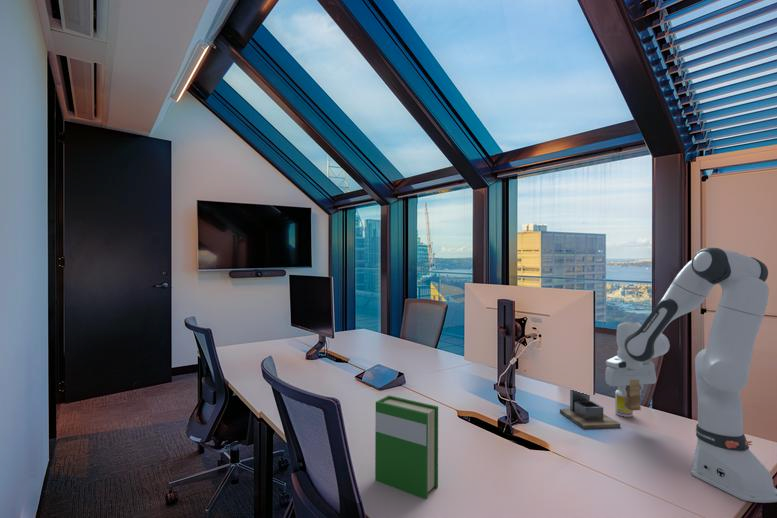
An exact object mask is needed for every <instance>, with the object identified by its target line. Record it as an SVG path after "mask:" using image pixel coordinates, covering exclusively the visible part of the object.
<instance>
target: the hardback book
mask: <svg viewBox="0 0 777 518" xmlns="http://www.w3.org/2000/svg"><path fill="white" fill-rule="evenodd" d="M374 426H375V427H374V428H375V437H374V438H375V440H374V441H375V443H374V445H375V447H374V449H375V450H374V451H375V452H374V454H375V455H374V457H375V458H374V459H375V460H374V461H375V462H374V464H375V467H374V469H375V470H374V475H375V476H374V478H375V479H374V480H375V482H378V483H381V484H383V485H386V486H389V487H391V488H395V489H397V490H400V491H402V492H405V493H408V494H411V495H413V496H415V497H419V498H422V499H424V500H428V496H429V495H428V494H429V492H431V490H432V489H439V406H437V405H435V404H429V403H424V402H422V401H421V402H419V401H415V400H411V399H406V398H403V397H402V398H401V397H399V396H398V397H397V396H393V395H387V396H385V397H383V398H381V399H378V400H377V401H375V425H374Z"/></svg>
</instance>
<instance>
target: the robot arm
mask: <svg viewBox="0 0 777 518" xmlns="http://www.w3.org/2000/svg"><path fill="white" fill-rule="evenodd" d="M768 277H769V270H768V266H767V265H766V264H765V263H764V262H763V261H760V260H759V259H757V258H755V257H753V256H747V255H745V254H742V253H739V252H737V251H734V250H733V251H732V250H727V249H721V248H719V247H705V248H701V249H700V250H698V251H696V253H695V254H694V255H693V257H692V259H691V260H689V261H687V263H686V264H685V265H684V266H683V268H682V269H681V270H680V271H679V272H678V273H677V274H676V276H675V277H674V279H673V280H672V282H671V284H670V285H669V287H668V288H667V290H666V292H665V293H664V294H663V296H662V298H661V299H660V300H659V302H658V303H657V305H656V306H655V307H654V308H653V309H652V311H651V313H649V315H648V317H646V319H645V321H644V322H643V323H642V324H641V322H639V321H635V320H633V321H632V320H631V321H630V320H629V321H625V322H620V323H618V325H617V327H616V345H617V352H616V353H617V354H616V355H615V356H613V357H611V358H609V359H606V360H605V365H606V368H605V371H604V372H605V374H604V375H605V376H604V377H605V383H606V384H607V385H608V386H610V387H618V386H619V387H620V389H621V390H622V394H623V396H625V397H627V396H629V395H628V394H629V392H627V391H626V390H625V388H626V386H628V385H630V380H639V387H640V397H641V396H642V391H643V389H644V385H652V384H653V385H655V384H656V383H657V374H656V369H655V363H654V362H653V361H651V359H654V358H658V357H661V356H664V355H665V354H667V353H668V352H669V350H670V349H671V344H670V343H671V342H670V340H669V338H668V337H667V336H666V335H665V334H664V333H663V332H664V330H665V329H666V328H667V327H668V325H669V324H670V323H671V322H673V321H674V320H676V319H677V318H679V317H682V316H684V315H686V314H689V313H691V312H693V311H695V310H696V309H697V308H698V307H700V305H701V304H703V302H704V301H705V299H706V298H707V297H708V295H709V294H710V292H711V291H712V289H713V288H714V287H715V286H717V285H719V286H720V288H721V290H722V292H721V296H720V299H719V301H718V304H717V306H716V310H715V313H714V316H713V319H712V321H711V324H710V327H709V334H708V338H707V339H708V340H707V344H706V348H703V349H701V350H700V351H699V352H698V353H696V356H695V359H694V366H695V367H694V370H695V371H694V372H695V383H696V384H695V386H696V394H697V396H696V397H697V424H696V425H695V427H696V428H695V436H696V437H697V440H696V441H697V442H696V445H695V446H696V447H695V449H694V450H695V451H694V458H693V461H692V464H691V471H690V473H691V475H692V476H693V477H695V478H696V479H697V478H698V479H699V480H701V481H703V482H706V483H708V484H710V485H711V486H713V487H716V488H718V489H719V490H722V491H724V492H726V493H728V494H729V495H731V496H733V497H735V498H737V499H740V500H742V501H746V502H751V503H759V504H761V503H763V504H766V503H770V504H771V503H777V488H776V487H775V486H774V481H773V476H772V474H771V471H770V470H769V469H767V468H766V466H765V465H764V464H763V463H762V462H761V461H760V460H759V459H758V457H756V455H754V453H753V452H752V451H751V450H750V446H752V445H753V444H752V443H753V441H752V440H747V438H746V436H745V434H744V428H743V427H744V416H743V414H744V411H743V409H744V408H743V404H742V399H741V398H742V397H741V392H740V391H741V390H744V388H745V387H746V386H747V384H748V382H749V374H750V373H749V372H750V368H751V365H752V364H751V363H752V360H753V353H754V348H755V347H754V346H755V341H756V338H757V335H758V333H759V330H760V328H761V324H762V322H763V319H764V317H765V313H766V309H767V305H768V301H769V300H768V299H769V290H770V288H769V286H768V284H767V283H766V280H767V279H768Z"/></svg>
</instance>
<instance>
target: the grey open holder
mask: <svg viewBox="0 0 777 518" xmlns="http://www.w3.org/2000/svg"><path fill="white" fill-rule="evenodd" d="M590 397H591V394H590V395H587V394H584V393H580V392H577V391H574V390H570V389H569V407H570V408H569V409H570V410H571V411H572V412H575V414H577V415H578V416H580V417H581V418H583V419H584V420H601V419H603V414H604V407H603V406H601V405H600V404H599V403H597V402H594V401H593V400H591V399H590Z"/></svg>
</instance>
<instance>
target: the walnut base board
mask: <svg viewBox="0 0 777 518" xmlns="http://www.w3.org/2000/svg"><path fill="white" fill-rule="evenodd" d="M559 413H560V414H561V415H563V416H564V417H566V418H567V419H569V420H570V421H571V422H573V423H574V424H576V425H577V426H578V427H580V428H581V429H583V430H587V429H588V430H590V429H591V430H592V429H594V428H596V429H613V428H615V429H617V428H618V427H620V428H621V423H620V422H618V421H617V420H615V419H614V418H611V417H610V416H608V415H606V414H605V413H603V419H601V420H584V419H583V418H581V417H580V416H578V415H577V414H575V412H572V411H571V410H570V408H559Z"/></svg>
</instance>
